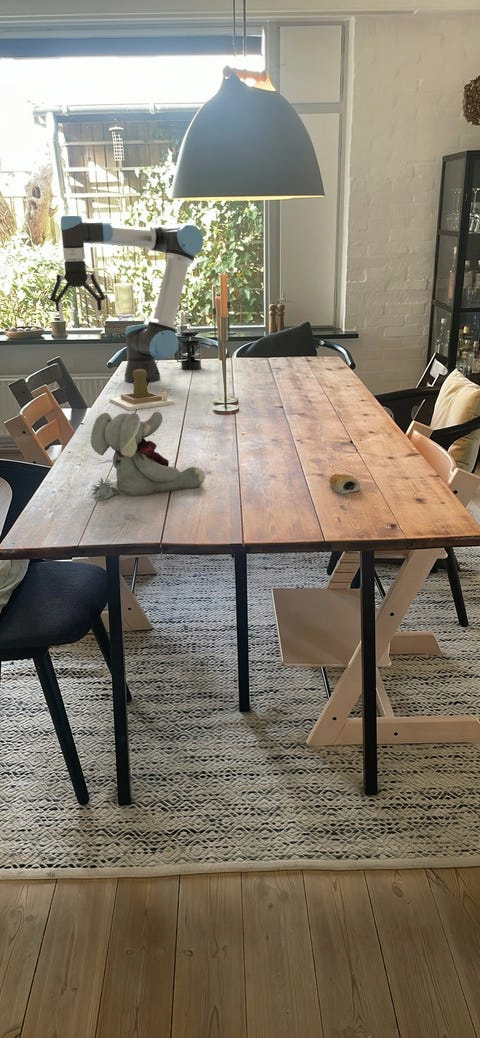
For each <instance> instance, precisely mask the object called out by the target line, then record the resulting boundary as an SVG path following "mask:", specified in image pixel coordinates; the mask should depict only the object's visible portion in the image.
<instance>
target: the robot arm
mask: <svg viewBox="0 0 480 1038" xmlns="http://www.w3.org/2000/svg"><path fill="white" fill-rule="evenodd" d="M60 232H61V241H62V250H63V259H64V260H65V261H64V264H63V265H64V270H65V271H64V272H65V273H64V275H63V274H57V275H56V282H55V284H54V287H53V290H52V293H51V295H50V298H49V300H50V301H52V302H54V303H55V310H56V312H59V313H58V314H59V321H61V322H62V321H64V312H63V302H62V301H61V299H63V297H64V295H65V294H66V292H67V291H68V290H69V289H70V288H75V287H78V288H82V287H83V288H84V289H86V290H87V292H88V293H89V294H90V295H91V296H92V297H93V299H95V300H96V301H95V302H94V306H95V317H96V321H99V320H100V311H102V301H104V300H106V295H105V294H104V291H103V290H102V288H101V287H100V285H99V283H98V281H97V279H96V275H95V273H90V274H87V267H86V266H87V265H86V262H85V259H86V255H85V245H84V244H97V245H98V244H100V245H108V246H109V245H110V246H123V247H133V248H134V247H137V248H145V250H147V251H154V252H158V253H164V254H165V255H164V256H165V257H166V259H167V261H166V264H165V269H164V273H163V277H162V282H161V285H160V289H159V290H160V291H159V295H158V298H157V303H156V306H155V311H154V314H153V315H154V316H153V318H152V319H151V320H149V321H148V323H145V324H144V323H143V324H136V325H135V324H134V325H128V326H126V327H125V343H126V346H125V347H126V356H127V357H126V359H127V364H126V368H125V372H124V376H123V377H124V381H125V382H127V383H134V378H133V371H134V370H137V369H143V370H145V371H146V372H147V377H146V383H152V382H156V381H159V380H161V374H160V370H159V368H158V365H157V363H156V360H167V359H168V360H169V359H170V358H172V357H173V356H174V355H175V354H176V353H177V348H178V349H179V344H178V342H179V339H178V335H177V334H176V333H177V327H176V326H175V322H176V317H177V313H178V310H179V306H180V301H181V297H182V292H183V289H184V284H185V281H186V277H187V274H188V273H187V272H188V268H189V266H190V265H191V264H193V263H194V259H195V257H196V255H198V254H199V253H200V252H201V251H202V250H203V248H204V247H203V246H204V237H203V234H202V232H201V229H200V228H199V227H198V226H197V225H194V224H191V223H184V222H183V223H168V224H161V225H146V227H144V226H143V227H142V226H141V227H140V226H130V225H120V224H111V222H110V221H107V220H83V219H82V216H81V215H80V214H78V215H77V214H76V215H75V214H74V215H73V214H71V215H70V214H69V215H68V214H67V215H62V216H61V218H60ZM64 280H65V281H66V284H65V285H64V287H63V289H62V290H61V291H60V293H59V294H58V292H59V288H60V286H61V283H62V281H64ZM87 280H90V281H91V282H92V284H93V286H94V288H95V290H96V292H97V293H98V294H97V293H96V292H95V291H94V289H93V288H92V287H91V286H90V284H89V283H87ZM57 294H58V296H57Z"/></svg>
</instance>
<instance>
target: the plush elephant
mask: <svg viewBox="0 0 480 1038" xmlns="http://www.w3.org/2000/svg"><path fill="white" fill-rule="evenodd" d="M163 418H164V417H163V415H162V413H161V412H159V411H154V412H153V413H152V414H151V416H150V417H149V418H148V419H147V420H145V421H141V417H140V415H139V414H138V413H137V412H131V413H127V412H125V413H120V414H118V415H116V416H115V417H114V418H113V419H112V416H111V415H110V413H108V412H103V413H101V414H100V415H98V416H97V417H96V419H95V421H94V424H93V425H92V426H93V427H92V429H91V434H90V435H91V436H90V446H91V447H92V449H93V450H94V452H95V453H97V454H98V455H100V456H104V455H105V453H106V452H107V451H108V450H109V448H111V449H112V451H113V450H114V453H113V457H112V464H113V468H115V471H116V472H115V473H116V486H117V488H116V487H114V486H112V485H113V484H114V483H112V482H111V480H108V481H106V482H104V479H103V478H102V477H101V478H100V481H99V480H98V484H97V485H96V484H94V485H93V486H92V489H91V491H93V492H92V494H91V496H94V499H95V501H96V500H97V502H100V501H101V502H103V501H105V500H108V499H111V498H112V497H113V496H118V495H121V496H129V497H144V496H148V495H151V494H155V493H166V492H172V491H179V490H187V489H189V490H190V489H191V490H192V489H198V488H200V487H201V486H202V484H203V483H204V482H205V480H206V479H205V478H206V476H205V472H204V471H203V469H201V468H200V467H198V466H191V467H188V468H186V469H184V470H182V471H180V470H179V469H178V468H177V467H173V466H169V464H170V462H169V460H168V459H167V458H165V457H163V456H162V455H161V454H160V453H159V452H156V451H155V450H156V449H157V446H158V445H157V444H156V443H155V442H153V441H151V440H146V438H148V437H150V436H151V435H153V434H154V433H155V432H156V431H158V429H159V427H161V424H162V422H163V420H164V419H163Z"/></svg>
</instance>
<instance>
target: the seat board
mask: <svg viewBox="0 0 480 1038" xmlns="http://www.w3.org/2000/svg"><path fill="white" fill-rule="evenodd" d="M133 394H134V392H131V393H124V394H120V396H119V397H112V398H108V399H109V403H111V404H114V405H116V406H118V407H121V408H123V409H125V410H127V411H133V410H141V409H148V408H154V407H155V408H156V407H163V406H169V405H175V400H173V399H170V398H168V391H162V393H161V395H160V394H157V393H154V392H152V391H149V390H148V394H149V397H145V398H138V399H134V398H133Z"/></svg>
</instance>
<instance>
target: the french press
mask: <svg viewBox="0 0 480 1038" xmlns="http://www.w3.org/2000/svg"><path fill="white" fill-rule="evenodd" d="M184 319H187V320H188V327H189V329H183V330H180V331H179V333H180V336H181V337H182V338H189V340H183V341H178V345H179V344H180V360H179V347H178V348H177V351H176V362H177V363H180V364H181V367H180V369H181V370H183V371H184V370H185V371H198V370H201V369H202V357H201V356H202V355H201V354H202V353H201V341H199V340H191V339H192V338H194V337H196V336H197V335H199V333H200V330H198V329H191V319H195V317H193V316H186V317H184ZM183 347H186V353H183ZM195 347H199V350H198V351H199V352H198V353H197V352H195ZM196 357H199V359H196ZM183 358H187V359H183Z"/></svg>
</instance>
